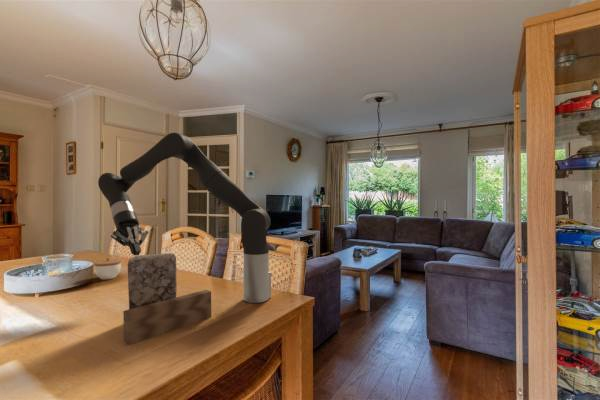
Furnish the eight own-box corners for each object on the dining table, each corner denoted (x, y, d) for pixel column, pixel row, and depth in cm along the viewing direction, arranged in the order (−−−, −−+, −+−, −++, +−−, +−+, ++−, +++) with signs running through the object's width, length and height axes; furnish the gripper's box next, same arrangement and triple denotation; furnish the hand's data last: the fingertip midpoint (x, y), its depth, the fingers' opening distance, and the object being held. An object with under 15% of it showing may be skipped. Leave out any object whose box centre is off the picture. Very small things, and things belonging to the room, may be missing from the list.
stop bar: (206, 314, 96) (206, 289, 96) (211, 316, 94) (211, 291, 94) (123, 341, 78) (123, 311, 78) (127, 345, 76) (127, 314, 76)
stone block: (127, 328, 86) (127, 259, 86) (130, 319, 92) (129, 255, 92) (177, 320, 91) (176, 255, 91) (176, 312, 98) (176, 251, 97)
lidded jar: (118, 273, 149) (118, 254, 149) (123, 277, 141) (123, 258, 141) (92, 277, 141) (92, 257, 141) (96, 282, 133) (96, 261, 133)
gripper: (109, 208, 105) (121, 248, 98) (146, 210, 116) (160, 246, 109) (100, 221, 108) (112, 262, 101) (137, 222, 119) (150, 258, 112)
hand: (137, 254), depth 105 cm, fingers closed
